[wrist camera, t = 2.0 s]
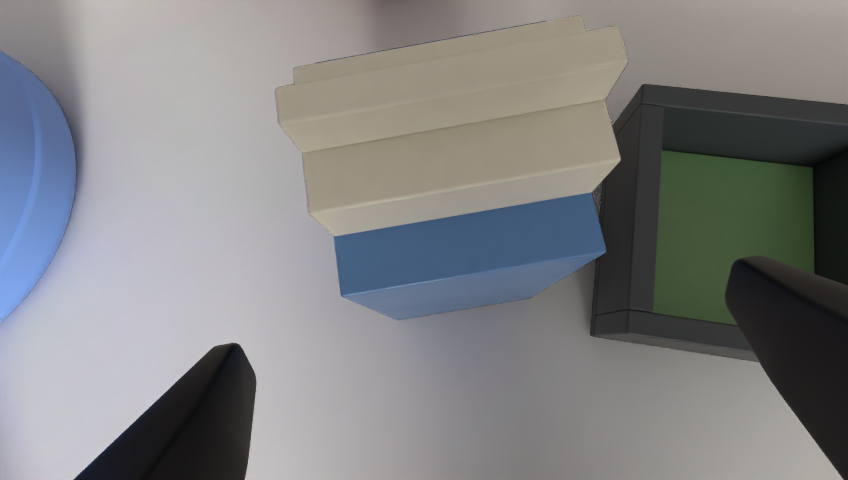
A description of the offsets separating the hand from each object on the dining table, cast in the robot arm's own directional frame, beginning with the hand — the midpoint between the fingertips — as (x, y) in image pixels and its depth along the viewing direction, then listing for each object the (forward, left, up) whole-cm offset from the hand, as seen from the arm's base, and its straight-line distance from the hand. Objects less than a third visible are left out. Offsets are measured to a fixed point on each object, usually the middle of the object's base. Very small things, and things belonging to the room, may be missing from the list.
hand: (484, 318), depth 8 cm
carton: (+3, -2, -11) cm, 11 cm away
